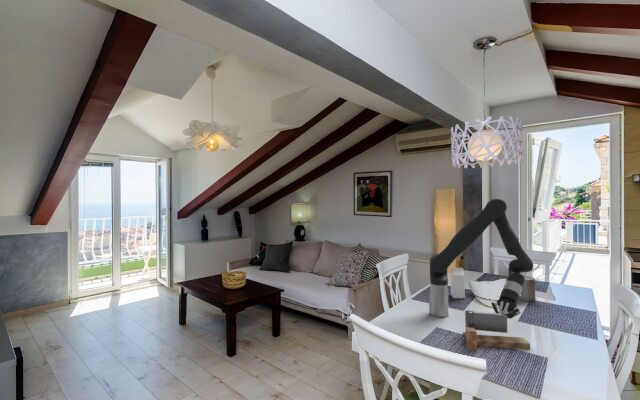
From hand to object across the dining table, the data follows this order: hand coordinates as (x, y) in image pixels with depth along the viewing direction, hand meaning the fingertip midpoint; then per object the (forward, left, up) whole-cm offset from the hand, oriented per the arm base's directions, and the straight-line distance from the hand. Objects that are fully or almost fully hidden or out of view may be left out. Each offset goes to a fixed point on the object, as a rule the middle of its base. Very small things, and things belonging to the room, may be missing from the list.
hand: (499, 324), depth 145 cm
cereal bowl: (-22, +66, -6) cm, 70 cm away
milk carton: (-37, +46, -6) cm, 60 cm away
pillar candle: (-4, +70, -6) cm, 70 cm away
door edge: (0, -8, -6) cm, 10 cm away
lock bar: (-4, -5, -5) cm, 8 cm away
